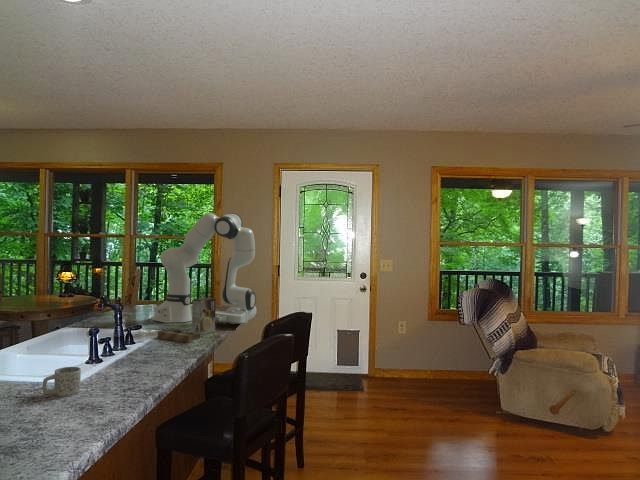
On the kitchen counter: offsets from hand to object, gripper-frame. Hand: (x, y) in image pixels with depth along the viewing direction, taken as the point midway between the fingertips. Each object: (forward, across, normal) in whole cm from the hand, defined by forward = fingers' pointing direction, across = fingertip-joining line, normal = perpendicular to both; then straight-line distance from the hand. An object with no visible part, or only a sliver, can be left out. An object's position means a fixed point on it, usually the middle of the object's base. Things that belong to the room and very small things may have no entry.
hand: (217, 319), depth 234 cm
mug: (+98, +22, +5) cm, 101 cm away
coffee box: (+10, 0, +5) cm, 11 cm away
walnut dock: (+24, 0, +5) cm, 25 cm away
